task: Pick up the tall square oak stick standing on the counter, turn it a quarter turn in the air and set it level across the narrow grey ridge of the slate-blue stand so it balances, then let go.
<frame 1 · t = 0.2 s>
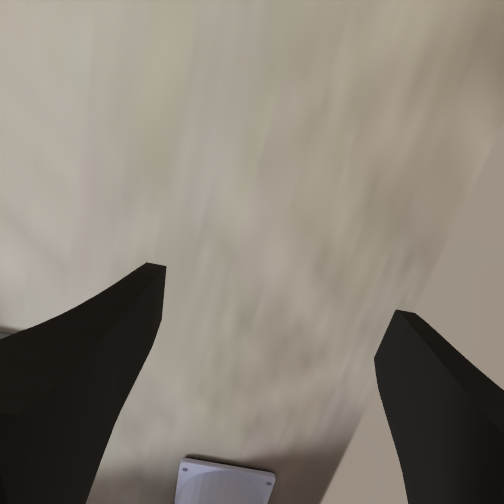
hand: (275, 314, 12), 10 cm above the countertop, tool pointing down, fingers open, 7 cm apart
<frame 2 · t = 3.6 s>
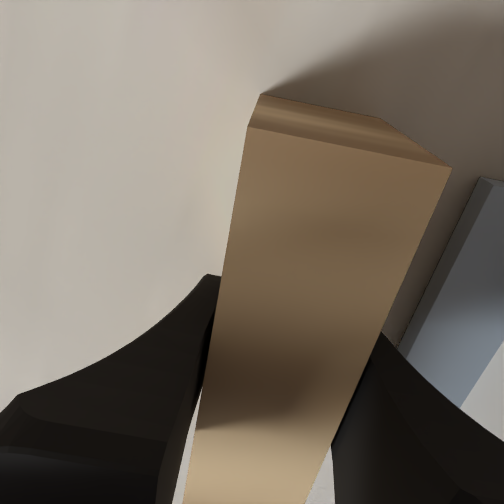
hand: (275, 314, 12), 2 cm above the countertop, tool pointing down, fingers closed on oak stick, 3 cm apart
oak stick: (275, 285, 13), on the countertop, touching gripper
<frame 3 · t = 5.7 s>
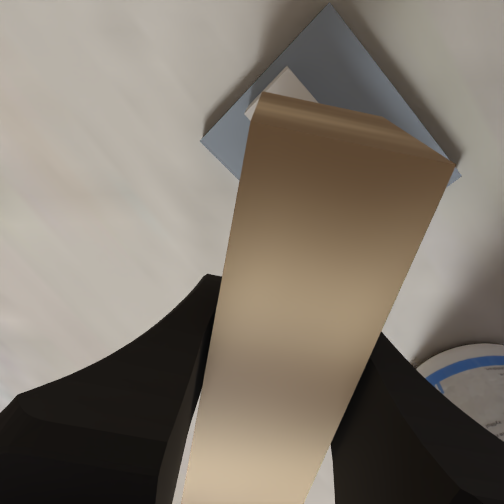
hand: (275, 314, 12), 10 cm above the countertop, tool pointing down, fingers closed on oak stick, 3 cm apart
fulcrum stand: (329, 154, 19), on the countertop
oak stick: (275, 283, 13), point 8 cm above the countertop, touching gripper
supplement tub: (465, 388, 26), on the countertop
when the fingers open (5 cm above the countertop, at t = 7.9 s): oak stick stays where it is, resting on fulcrum stand.
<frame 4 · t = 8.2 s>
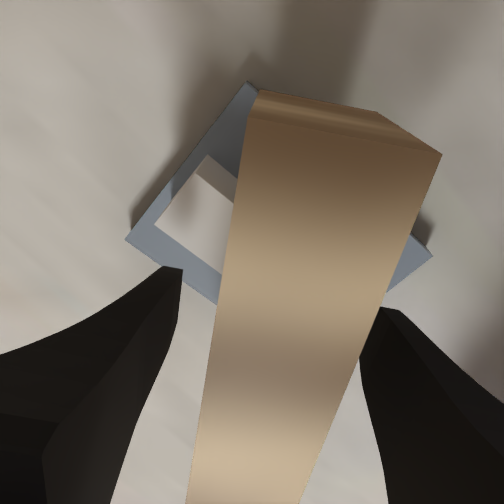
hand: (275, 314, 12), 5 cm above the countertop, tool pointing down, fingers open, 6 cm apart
fulcrum stand: (276, 239, 17), on the countertop
oak stick: (276, 276, 14), point 3 cm above the countertop, touching fulcrum stand
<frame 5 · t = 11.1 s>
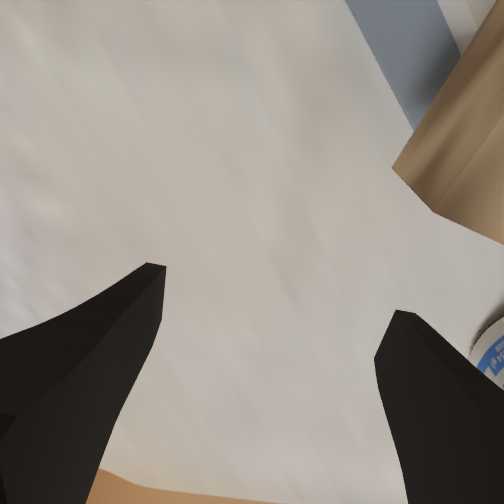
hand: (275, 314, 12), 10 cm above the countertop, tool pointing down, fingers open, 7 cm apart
fulcrum stand: (482, 41, 17), on the countertop
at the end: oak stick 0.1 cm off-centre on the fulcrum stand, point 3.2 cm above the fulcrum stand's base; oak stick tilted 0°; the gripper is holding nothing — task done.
